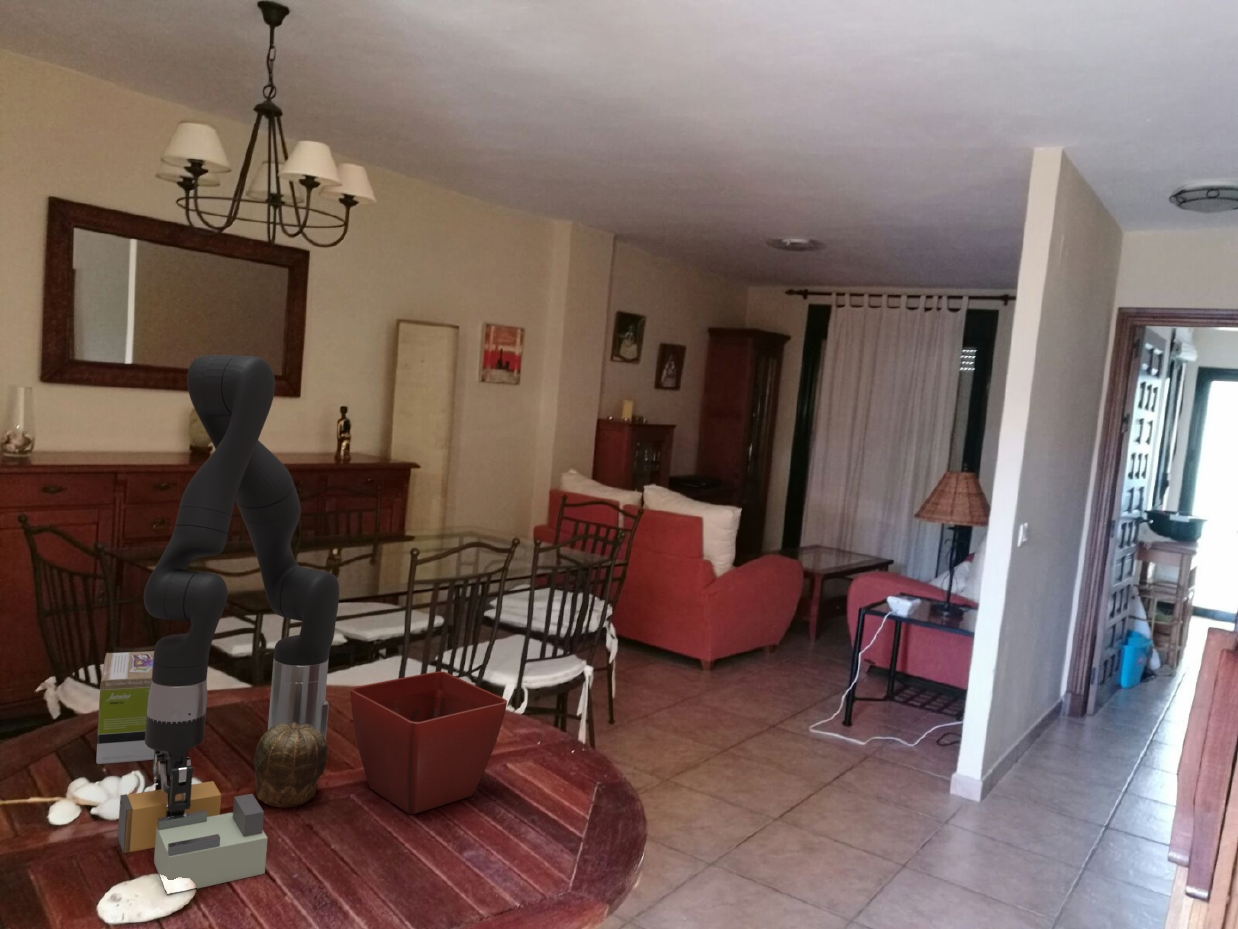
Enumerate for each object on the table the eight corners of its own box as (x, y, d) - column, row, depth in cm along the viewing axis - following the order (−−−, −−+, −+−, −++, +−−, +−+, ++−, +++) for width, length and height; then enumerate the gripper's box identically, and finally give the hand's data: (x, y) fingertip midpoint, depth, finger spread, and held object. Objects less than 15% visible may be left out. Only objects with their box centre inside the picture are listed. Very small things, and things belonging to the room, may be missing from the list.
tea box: (99, 731, 160) (105, 650, 159) (162, 727, 165) (168, 648, 164) (94, 766, 147) (100, 678, 146) (162, 760, 151) (169, 675, 150)
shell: (254, 818, 135) (260, 741, 134) (247, 787, 145) (253, 715, 144) (328, 810, 140) (335, 735, 139) (317, 780, 150) (323, 711, 149)
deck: (247, 843, 128) (251, 789, 127) (264, 873, 121) (269, 816, 120) (154, 862, 121) (158, 804, 120) (166, 895, 114) (171, 834, 113)
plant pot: (338, 785, 149) (347, 686, 148) (433, 759, 163) (442, 669, 162) (403, 831, 136) (413, 723, 135) (500, 799, 150) (510, 701, 149)
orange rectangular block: (210, 820, 133) (213, 780, 133) (218, 835, 129) (221, 794, 129) (117, 837, 126) (120, 795, 126) (123, 853, 122) (126, 810, 122)
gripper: (216, 724, 123) (207, 838, 124) (195, 691, 134) (186, 796, 135) (156, 731, 118) (146, 849, 119) (139, 696, 130) (130, 805, 131)
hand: (167, 821), depth 127 cm, fingers open, 8 cm apart
